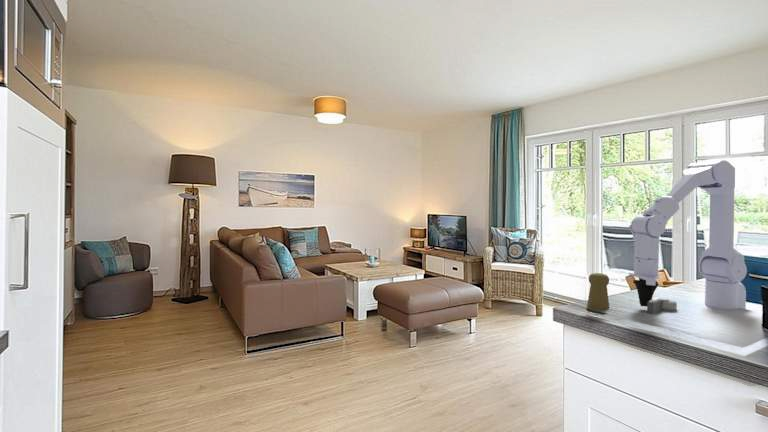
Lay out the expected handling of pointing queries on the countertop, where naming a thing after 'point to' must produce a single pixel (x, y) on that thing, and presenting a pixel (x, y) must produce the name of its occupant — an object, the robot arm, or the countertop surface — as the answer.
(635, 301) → the countertop surface
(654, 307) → the peg dial
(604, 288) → the cork
